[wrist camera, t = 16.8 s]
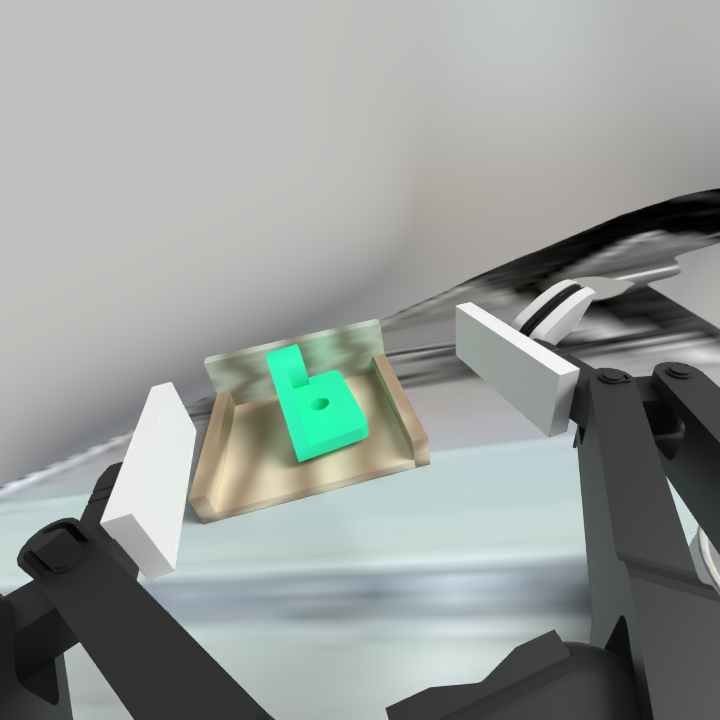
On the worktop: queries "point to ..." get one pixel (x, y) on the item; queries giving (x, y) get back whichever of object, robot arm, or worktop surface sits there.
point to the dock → (271, 435)
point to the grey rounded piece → (554, 312)
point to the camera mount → (315, 405)
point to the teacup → (705, 559)
